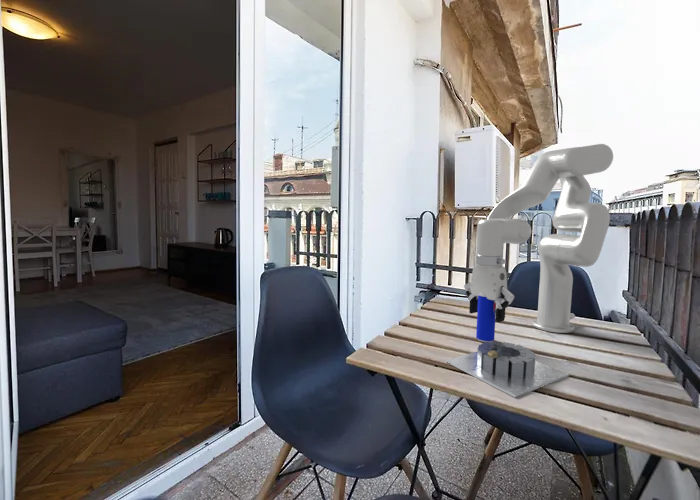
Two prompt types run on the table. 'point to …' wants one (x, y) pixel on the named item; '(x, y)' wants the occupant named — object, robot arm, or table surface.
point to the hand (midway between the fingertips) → (486, 316)
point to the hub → (507, 368)
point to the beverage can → (485, 319)
